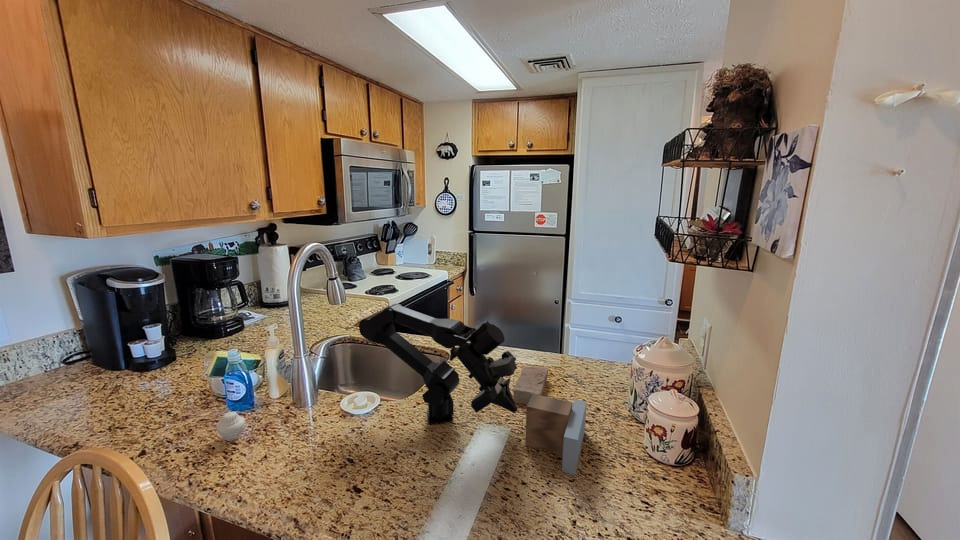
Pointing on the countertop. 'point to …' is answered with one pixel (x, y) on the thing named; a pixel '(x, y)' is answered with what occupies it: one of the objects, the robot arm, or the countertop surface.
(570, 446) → the slate board
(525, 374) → the brick
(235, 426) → the grey rounded lump
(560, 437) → the walnut box
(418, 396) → the countertop surface
